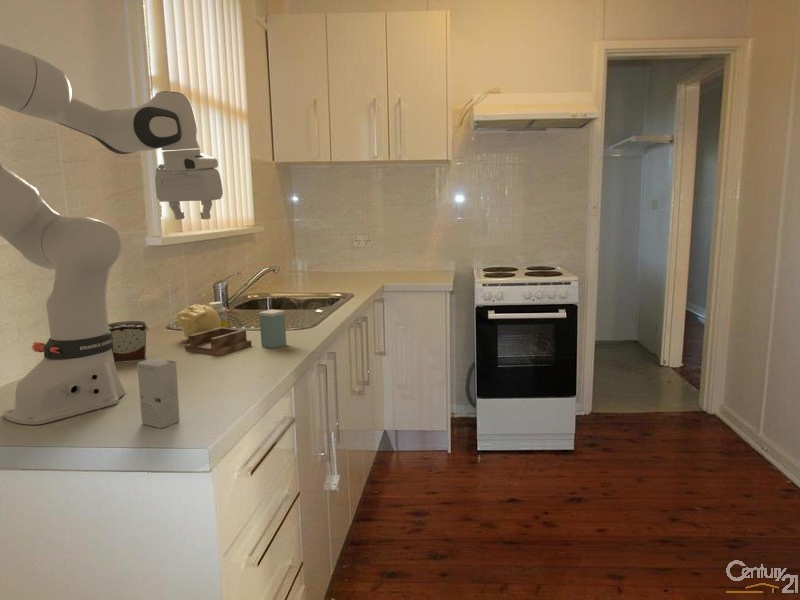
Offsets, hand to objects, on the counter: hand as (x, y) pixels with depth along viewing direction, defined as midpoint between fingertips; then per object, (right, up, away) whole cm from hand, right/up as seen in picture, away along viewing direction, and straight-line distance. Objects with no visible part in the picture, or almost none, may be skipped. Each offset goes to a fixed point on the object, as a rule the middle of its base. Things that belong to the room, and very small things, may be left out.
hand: (192, 219), depth 144 cm
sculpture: (-10, -32, +35) cm, 49 cm away
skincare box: (+6, -44, -34) cm, 56 cm away
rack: (-1, -34, +23) cm, 41 cm away
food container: (-22, -37, +14) cm, 45 cm away
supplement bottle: (-6, -31, +40) cm, 51 cm away
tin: (+15, -34, +24) cm, 44 cm away
